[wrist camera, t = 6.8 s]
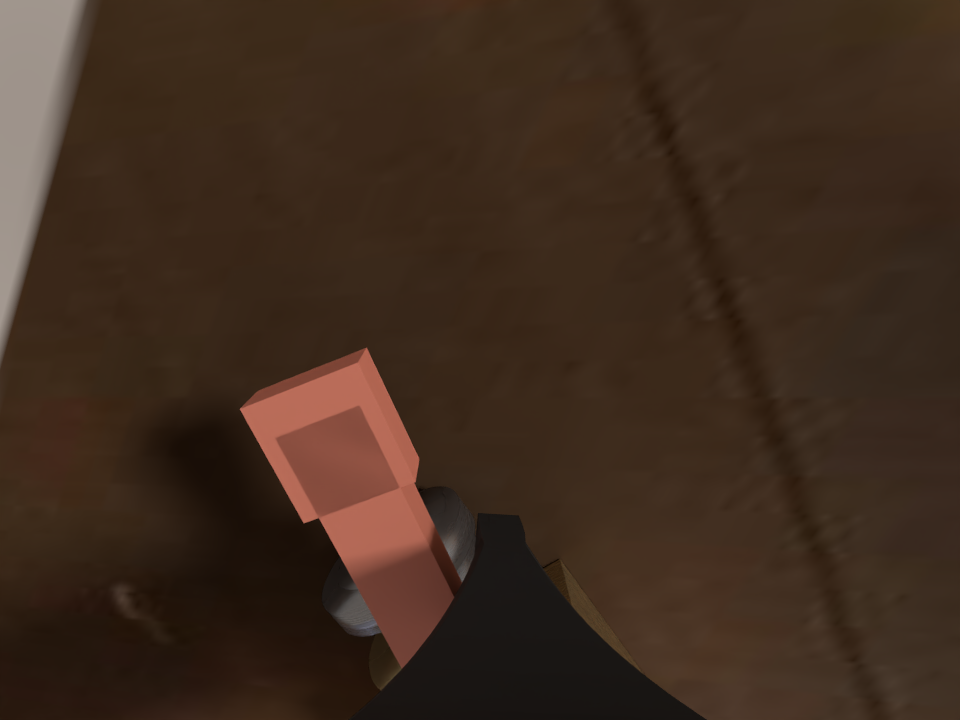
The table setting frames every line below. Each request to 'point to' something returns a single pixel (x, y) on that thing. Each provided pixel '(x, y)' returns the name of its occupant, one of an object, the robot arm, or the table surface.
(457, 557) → the valve pipe
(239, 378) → the table surface
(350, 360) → the lever
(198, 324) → the table surface
